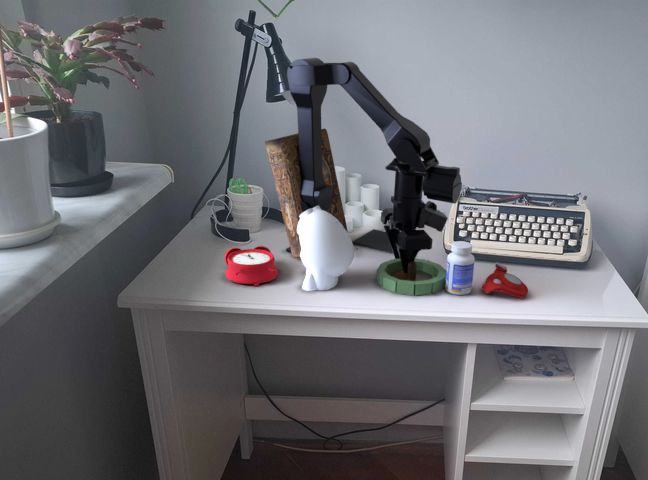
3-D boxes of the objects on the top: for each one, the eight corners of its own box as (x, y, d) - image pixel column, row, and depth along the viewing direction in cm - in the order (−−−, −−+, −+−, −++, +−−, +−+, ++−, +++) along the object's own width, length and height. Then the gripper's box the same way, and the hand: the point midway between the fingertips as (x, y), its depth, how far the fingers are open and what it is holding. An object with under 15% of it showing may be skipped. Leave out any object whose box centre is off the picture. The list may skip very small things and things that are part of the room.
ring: (363, 285, 127) (364, 274, 126) (395, 263, 139) (396, 253, 138) (428, 301, 122) (429, 290, 121) (456, 277, 134) (457, 266, 132)
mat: (351, 244, 148) (351, 241, 148) (373, 231, 157) (373, 229, 157) (393, 253, 144) (393, 250, 144) (413, 239, 153) (413, 237, 153)
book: (309, 258, 137) (281, 139, 127) (289, 259, 139) (260, 142, 130) (349, 237, 150) (326, 127, 140) (330, 238, 152) (307, 130, 143)
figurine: (353, 270, 134) (354, 200, 127) (353, 292, 124) (354, 218, 117) (300, 268, 133) (298, 198, 126) (296, 290, 123) (293, 216, 116)
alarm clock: (228, 272, 120) (218, 231, 130) (229, 298, 124) (220, 256, 135) (282, 268, 123) (269, 228, 134) (282, 293, 128) (269, 252, 138)
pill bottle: (476, 291, 128) (482, 245, 123) (459, 298, 124) (464, 251, 120) (456, 282, 131) (460, 237, 126) (439, 289, 128) (442, 243, 123)
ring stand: (381, 283, 128) (381, 265, 127) (401, 269, 136) (402, 252, 134) (422, 293, 125) (423, 275, 123) (440, 278, 132) (441, 260, 131)
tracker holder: (540, 290, 127) (505, 288, 121) (529, 308, 129) (495, 307, 123) (505, 257, 134) (470, 254, 128) (495, 275, 136) (461, 272, 130)
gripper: (461, 208, 122) (452, 282, 129) (431, 182, 137) (425, 250, 145) (405, 208, 119) (399, 284, 127) (382, 182, 134) (378, 251, 142)
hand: (402, 266), depth 135 cm, fingers open, 6 cm apart
